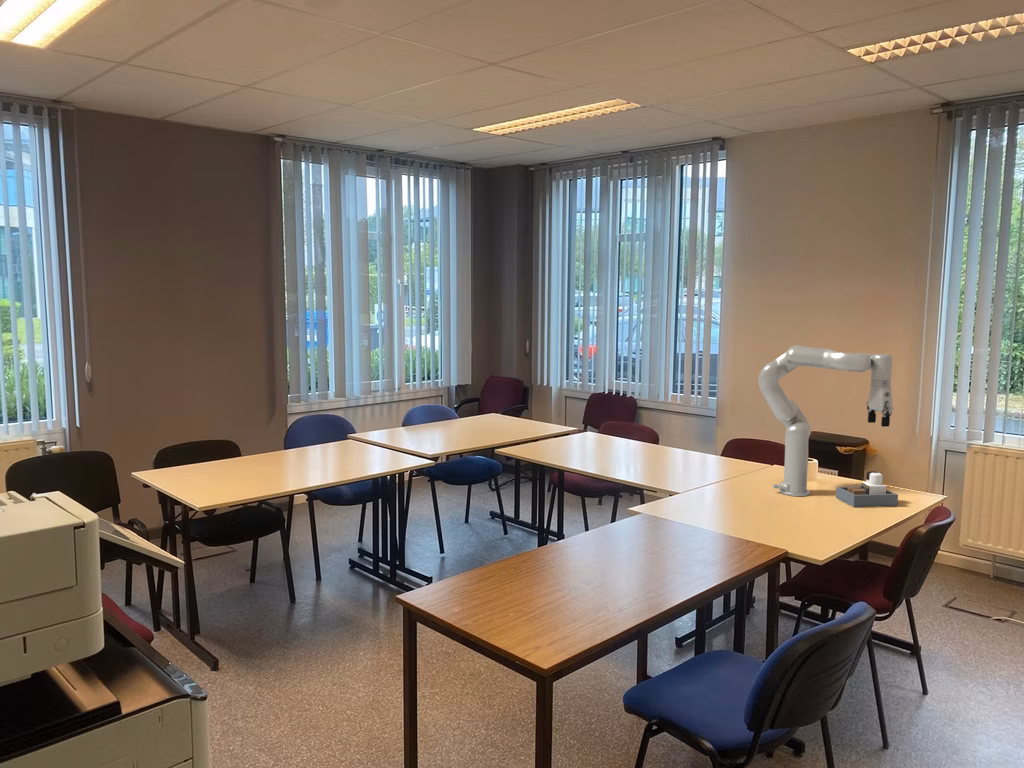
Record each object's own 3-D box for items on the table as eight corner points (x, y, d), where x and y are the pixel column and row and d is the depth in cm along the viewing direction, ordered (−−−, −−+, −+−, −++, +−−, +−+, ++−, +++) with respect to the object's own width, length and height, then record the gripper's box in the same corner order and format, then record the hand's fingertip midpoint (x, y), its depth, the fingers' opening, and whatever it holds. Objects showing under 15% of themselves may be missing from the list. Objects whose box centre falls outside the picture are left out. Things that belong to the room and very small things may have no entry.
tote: (853, 507, 301) (854, 495, 301) (835, 498, 315) (836, 487, 315) (897, 506, 303) (898, 494, 302) (877, 497, 317) (878, 486, 316)
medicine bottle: (860, 497, 313) (862, 470, 312) (877, 497, 313) (879, 470, 312) (868, 502, 306) (869, 474, 305) (885, 502, 306) (887, 474, 305)
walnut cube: (864, 502, 306) (865, 490, 306) (853, 502, 306) (854, 490, 306) (858, 498, 311) (858, 487, 311) (847, 499, 311) (847, 487, 310)
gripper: (902, 386, 296) (899, 427, 297) (877, 381, 313) (874, 420, 315) (884, 386, 295) (881, 428, 297) (860, 381, 312) (858, 421, 314)
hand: (878, 424), depth 306 cm, fingers open, 9 cm apart
